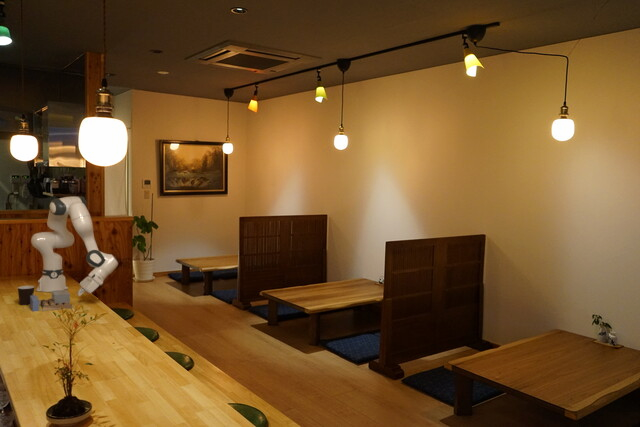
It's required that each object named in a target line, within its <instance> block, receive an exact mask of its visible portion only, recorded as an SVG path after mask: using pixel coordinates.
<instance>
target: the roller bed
mask: <svg viewBox="0 0 640 427" xmlns="http://www.w3.org/2000/svg"><path fill="white" fill-rule="evenodd" d="M41 304H42V305H41ZM39 306H42V312H47V310H51V311H57V310H58V309H59V311H60V309H61V306H62V307H63V309H61V310H68V309H72V308H73V303H70V302H67V303H56V304H54V302H53V301H52V299H51V298H48V299H40V300H39ZM64 308H65V309H64Z"/></svg>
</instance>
